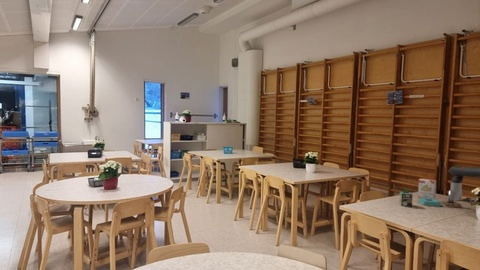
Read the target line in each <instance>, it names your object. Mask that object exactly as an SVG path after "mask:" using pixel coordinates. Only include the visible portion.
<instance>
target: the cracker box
mask: <svg viewBox="0 0 480 270" xmlns="http://www.w3.org/2000/svg"><path fill="white" fill-rule="evenodd" d="M417 192H418V193H417V199H418V200H419V198H429V199H436V196H437V195H436V194H437V180H436V179H428V178H419V179H418V190H417Z"/></svg>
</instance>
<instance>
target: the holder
mask: <svg viewBox="0 0 480 270" xmlns="http://www.w3.org/2000/svg"><path fill="white" fill-rule="evenodd" d="M440 202H441V206H444V207H446V208H454V209H455V208H456V209H461V208H462V204H461V203H458V202H456V201H454V204H453V203H448V200H440Z"/></svg>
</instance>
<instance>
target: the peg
mask: <svg viewBox="0 0 480 270" xmlns="http://www.w3.org/2000/svg"><path fill="white" fill-rule="evenodd" d="M447 196H448V198H447V199H448V200H447V201H448V203H453V204H454V202H455V200H454V191H451V189H450V190H448V195H447Z"/></svg>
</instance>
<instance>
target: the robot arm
mask: <svg viewBox="0 0 480 270" xmlns="http://www.w3.org/2000/svg"><path fill="white" fill-rule="evenodd" d="M448 173H449V174H450V175H452V176H454V177H453V178H451V180H450V190H451V191H454V201H463V202H465V203H469V204H473V203H472V202H474V201H475V200H476V199H478V198H475V197H465V198H463V190H462V188H463V181H464V177H470V178H480V167H476V166H475V167H474V166H473V167H472V166H471V167H462V166H451V167H450V168H449V169H448Z"/></svg>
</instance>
